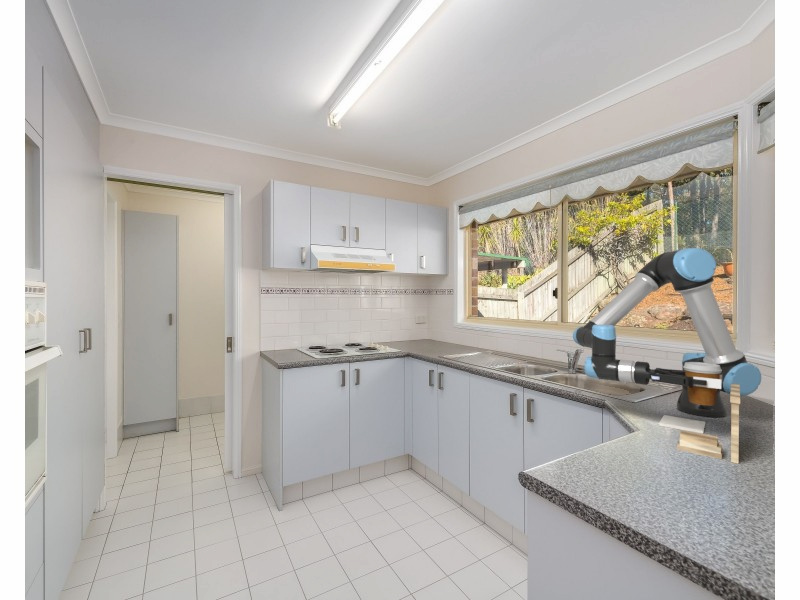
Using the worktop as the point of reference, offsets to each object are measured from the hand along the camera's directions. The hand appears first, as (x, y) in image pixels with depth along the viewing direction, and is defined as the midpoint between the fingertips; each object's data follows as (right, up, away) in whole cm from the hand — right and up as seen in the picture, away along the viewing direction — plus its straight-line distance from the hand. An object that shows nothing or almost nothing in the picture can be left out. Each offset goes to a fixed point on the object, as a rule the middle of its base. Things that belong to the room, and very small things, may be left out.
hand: (721, 381), depth 116 cm
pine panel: (0, -19, -4) cm, 19 cm away
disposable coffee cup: (-4, -7, +3) cm, 9 cm away
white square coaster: (+1, -19, +18) cm, 26 cm away
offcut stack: (-11, -19, -6) cm, 23 cm away
